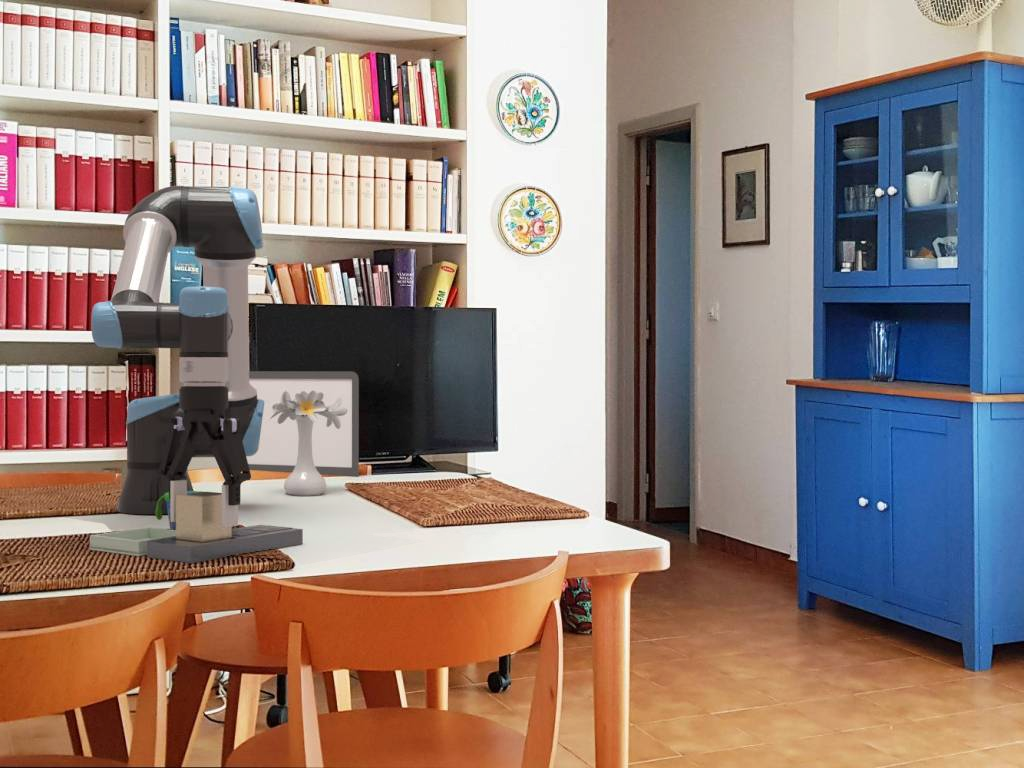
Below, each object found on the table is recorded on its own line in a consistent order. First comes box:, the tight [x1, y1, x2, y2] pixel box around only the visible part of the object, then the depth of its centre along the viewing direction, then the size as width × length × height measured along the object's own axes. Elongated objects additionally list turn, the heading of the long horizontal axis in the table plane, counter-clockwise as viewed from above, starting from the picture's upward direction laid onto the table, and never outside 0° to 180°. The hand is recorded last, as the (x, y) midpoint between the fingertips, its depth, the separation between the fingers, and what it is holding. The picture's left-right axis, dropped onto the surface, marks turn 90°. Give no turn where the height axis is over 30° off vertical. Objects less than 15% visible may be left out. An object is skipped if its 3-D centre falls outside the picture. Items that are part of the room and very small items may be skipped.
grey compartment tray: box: [146, 524, 304, 564], centre depth 190 cm, size 10×24×3 cm, turn 146°
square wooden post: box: [176, 491, 233, 543], centre depth 185 cm, size 6×6×9 cm
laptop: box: [246, 370, 360, 478], centre depth 291 cm, size 38×29×29 cm
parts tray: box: [89, 527, 176, 557], centre depth 192 cm, size 12×12×2 cm
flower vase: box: [269, 390, 348, 497], centre depth 264 cm, size 13×18×25 cm
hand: (203, 523), depth 185 cm, fingers open, 11 cm apart
